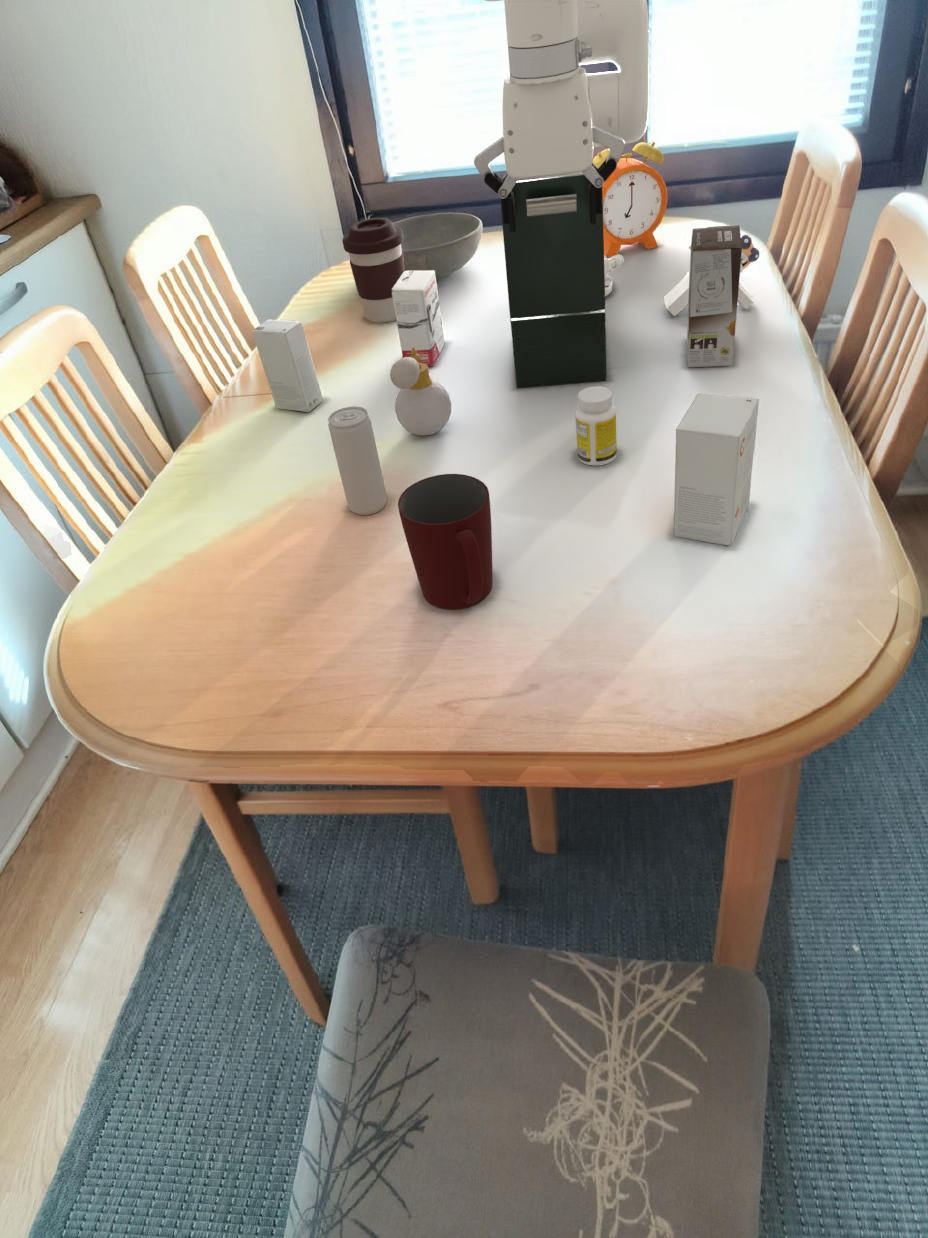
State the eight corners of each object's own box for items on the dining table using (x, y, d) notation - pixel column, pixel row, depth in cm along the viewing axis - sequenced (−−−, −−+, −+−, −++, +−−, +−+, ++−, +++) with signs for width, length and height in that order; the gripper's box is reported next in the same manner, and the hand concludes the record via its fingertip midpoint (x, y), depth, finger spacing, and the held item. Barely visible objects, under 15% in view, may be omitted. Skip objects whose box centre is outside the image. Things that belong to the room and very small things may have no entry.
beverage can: (348, 498, 108) (327, 409, 101) (387, 492, 108) (369, 402, 101) (348, 519, 105) (325, 429, 97) (388, 513, 105) (369, 422, 97)
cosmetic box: (324, 399, 130) (305, 319, 122) (307, 414, 127) (286, 333, 119) (290, 395, 132) (269, 316, 125) (273, 409, 130) (250, 329, 122)
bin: (518, 342, 137) (512, 278, 131) (600, 334, 136) (599, 270, 129) (516, 388, 125) (510, 321, 119) (606, 380, 124) (605, 312, 117)
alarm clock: (598, 260, 160) (595, 137, 147) (587, 250, 164) (583, 130, 151) (667, 245, 161) (671, 123, 148) (654, 236, 166) (656, 116, 153)
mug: (525, 615, 88) (516, 523, 81) (442, 644, 86) (425, 552, 79) (481, 552, 97) (469, 464, 90) (404, 577, 95) (386, 490, 88)
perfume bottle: (450, 412, 122) (438, 328, 114) (460, 446, 115) (448, 359, 107) (397, 422, 122) (381, 338, 114) (403, 456, 115) (386, 370, 107)
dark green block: (499, 183, 110) (497, 190, 106) (601, 171, 108) (604, 178, 104) (510, 316, 119) (509, 328, 115) (605, 307, 117) (607, 319, 113)
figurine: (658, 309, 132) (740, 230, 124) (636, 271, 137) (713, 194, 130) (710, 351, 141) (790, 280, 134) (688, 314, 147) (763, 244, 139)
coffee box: (733, 366, 122) (743, 247, 112) (686, 368, 124) (691, 250, 113) (731, 338, 129) (740, 223, 119) (685, 340, 130) (691, 226, 120)
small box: (692, 496, 100) (698, 390, 91) (750, 505, 97) (761, 396, 89) (671, 537, 95) (674, 428, 86) (730, 547, 92) (741, 436, 84)
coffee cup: (348, 325, 150) (329, 234, 141) (374, 302, 157) (357, 214, 148) (400, 328, 147) (384, 234, 137) (424, 304, 154) (410, 213, 144)
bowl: (445, 301, 154) (439, 254, 148) (351, 290, 163) (342, 245, 158) (506, 258, 166) (502, 213, 161) (415, 250, 176) (409, 207, 171)
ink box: (434, 367, 134) (422, 289, 126) (403, 368, 135) (389, 291, 127) (446, 342, 140) (435, 267, 133) (416, 343, 141) (404, 269, 134)
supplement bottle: (620, 448, 110) (619, 385, 104) (612, 468, 106) (611, 404, 101) (582, 445, 111) (579, 383, 106) (573, 465, 108) (570, 402, 103)
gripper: (622, 44, 98) (622, 207, 109) (466, 64, 100) (483, 222, 111) (627, 56, 92) (627, 227, 103) (462, 78, 94) (480, 243, 105)
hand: (552, 224), depth 107 cm, fingers open, 9 cm apart
